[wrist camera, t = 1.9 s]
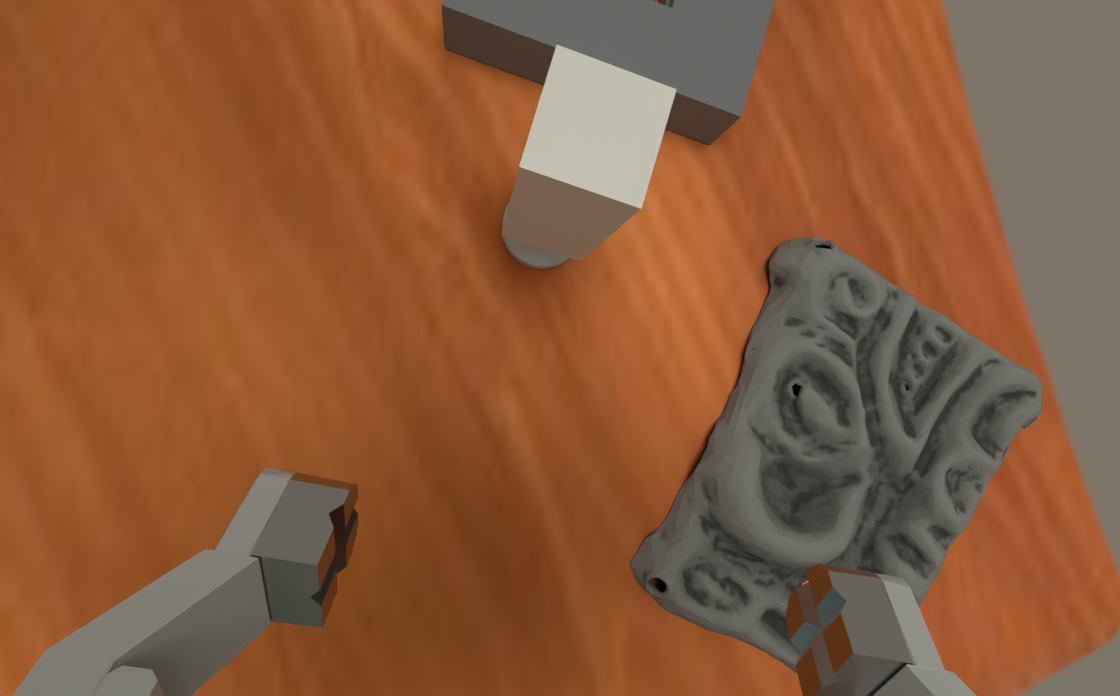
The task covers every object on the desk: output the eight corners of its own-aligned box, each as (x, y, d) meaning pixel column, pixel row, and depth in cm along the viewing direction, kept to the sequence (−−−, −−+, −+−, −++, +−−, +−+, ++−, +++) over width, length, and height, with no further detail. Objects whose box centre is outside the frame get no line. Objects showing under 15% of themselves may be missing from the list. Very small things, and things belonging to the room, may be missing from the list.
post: (566, 279, 36) (645, 217, 20) (491, 255, 35) (510, 170, 19) (588, 206, 36) (684, 85, 20) (514, 181, 35) (552, 36, 19)
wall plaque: (785, 222, 38) (821, 207, 34) (1024, 379, 40) (1084, 382, 37) (592, 568, 36) (607, 593, 32) (855, 713, 38) (899, 753, 35)
